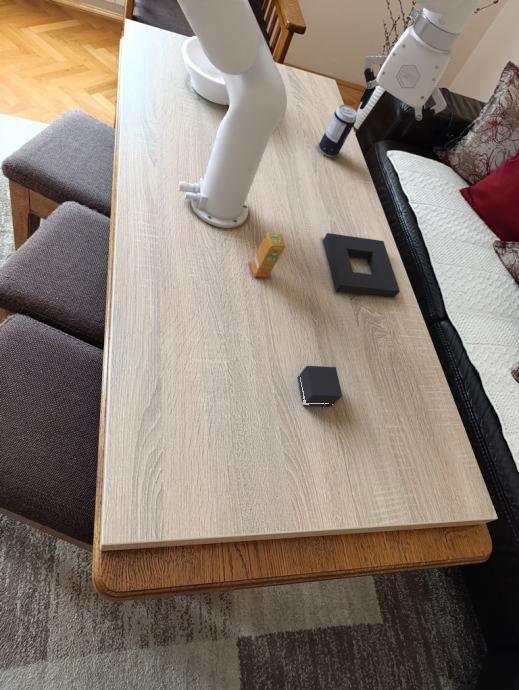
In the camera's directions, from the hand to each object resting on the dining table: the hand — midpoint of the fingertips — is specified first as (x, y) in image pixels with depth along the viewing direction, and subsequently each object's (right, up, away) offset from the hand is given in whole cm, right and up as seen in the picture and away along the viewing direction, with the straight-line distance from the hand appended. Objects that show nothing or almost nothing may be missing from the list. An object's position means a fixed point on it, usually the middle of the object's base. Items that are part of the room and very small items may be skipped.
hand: (383, 119), depth 99 cm
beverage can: (-6, +7, +34) cm, 35 cm away
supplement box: (-24, -30, +4) cm, 39 cm away
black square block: (-14, -53, -7) cm, 55 cm away
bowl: (-36, +22, +33) cm, 53 cm away
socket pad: (-2, -27, +14) cm, 31 cm away
